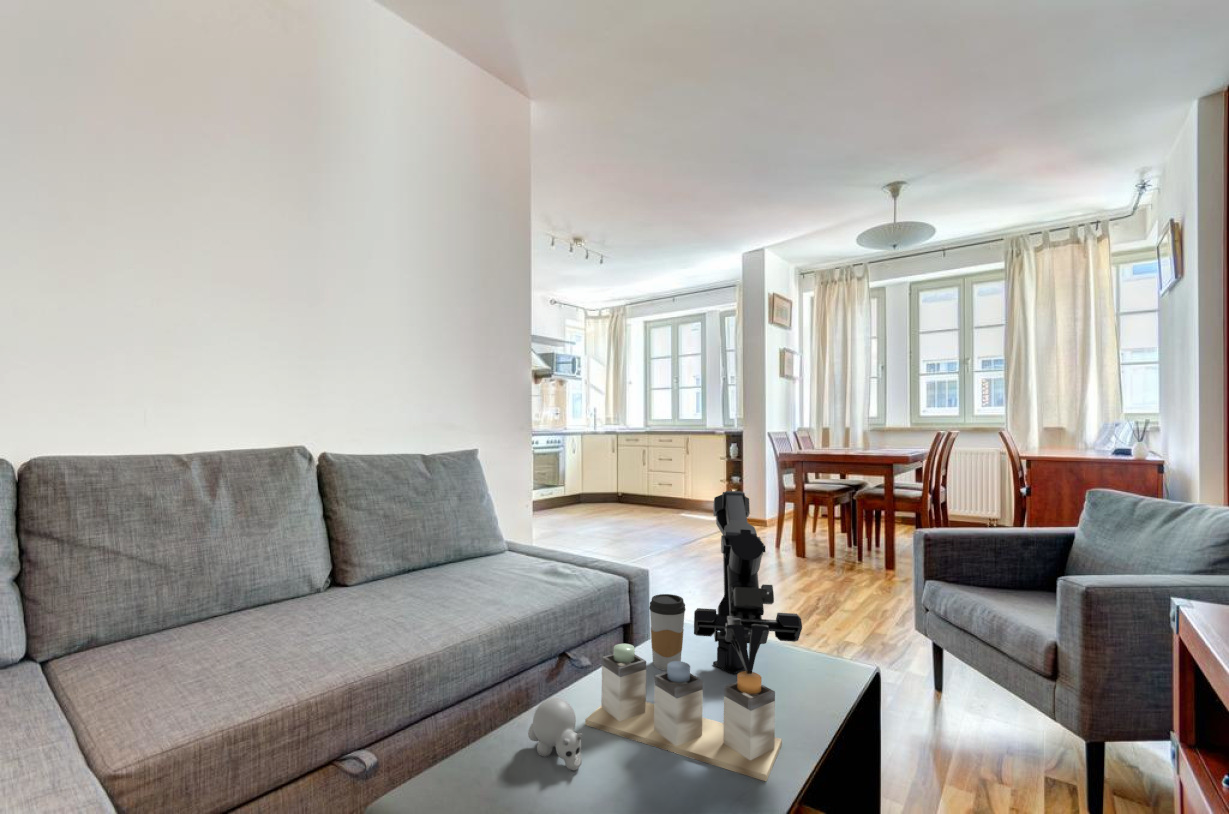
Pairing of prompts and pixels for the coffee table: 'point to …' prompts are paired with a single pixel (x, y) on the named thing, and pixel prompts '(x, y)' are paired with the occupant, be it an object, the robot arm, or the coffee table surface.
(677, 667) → the slate button
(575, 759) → the toy rhinoceros
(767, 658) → the coffee table surface
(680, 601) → the coffee cup
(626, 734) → the button board
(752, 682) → the orange button
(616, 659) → the sage button
